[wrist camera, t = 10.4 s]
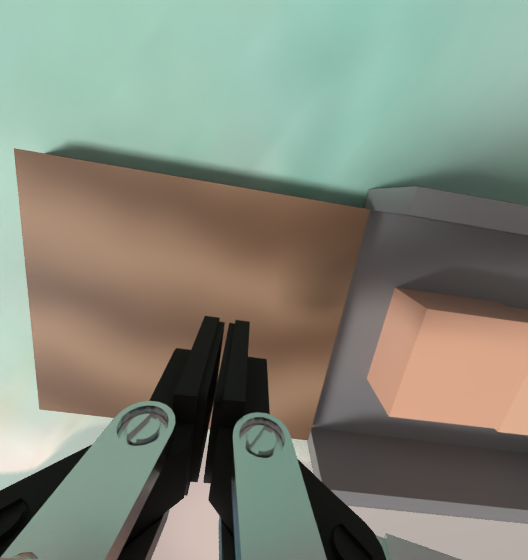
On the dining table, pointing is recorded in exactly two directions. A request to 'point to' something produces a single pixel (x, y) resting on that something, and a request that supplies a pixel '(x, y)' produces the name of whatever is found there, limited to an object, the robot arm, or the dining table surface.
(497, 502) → the tray
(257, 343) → the board
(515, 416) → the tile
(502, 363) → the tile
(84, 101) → the dining table surface
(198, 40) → the dining table surface
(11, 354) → the dining table surface
